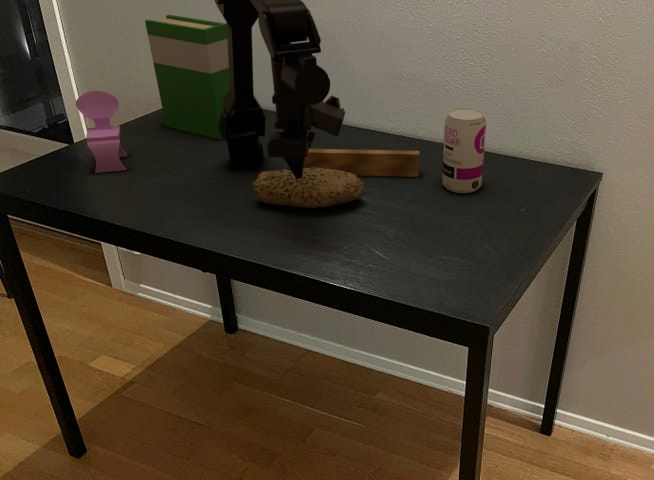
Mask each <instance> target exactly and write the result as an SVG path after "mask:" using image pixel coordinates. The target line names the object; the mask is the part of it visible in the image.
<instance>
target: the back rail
mask: <svg viewBox="0 0 654 480" xmlns="http://www.w3.org/2000/svg"><path fill="white" fill-rule="evenodd" d="M312 167H315V168H326V169H332V170H339V171H344V172H347V173H353V174H355V175H356V176H358V177H400V178H401V177H403V178H404V177H405V178H406V177H407V178H419V177H420V150H399V149H397V150H395V149H394V150H393V149H392V150H391V149H388V150H387V149H346V148H345V149H343V148H342V149H341V148H339V149H335V148H310V149H309V152H308V154H307V157H305V163H304V168H312Z"/></svg>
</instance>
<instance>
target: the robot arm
mask: <svg viewBox="0 0 654 480" xmlns="http://www.w3.org/2000/svg"><path fill="white" fill-rule="evenodd" d="M213 1H214V3H215V5H216V7H217V9H218V11H219V12H220V14H221V16H222V17H223V19H224V20H225V23H226V25H227V43H228V61H229V80H230V90H229V92H228V93H227V95H226V96H225V98H224V99H223V112H221V115H220V121H219V130H220V134H221V136H222V137H223V138H224V139H223V140H224V141H225V142H226V143H227V148H228V149H227V150H228V156H229V164H228V169H238V170H239V169H243V170H258V169H259V168H260V167H261V165H262V163H263V161H264V160H265V154H264V147H263V141H262V140H260V137H265V135H266V117H267V115H266V113H265V112H264V109H263V108H262V106H261V104H260V102H259V101H258V99H257V98H256V96H255V94H254V93H255V92H254V59H253V58H254V55H253V53H254V52H253V27H254V25H255V24H256V22H257V20H258V27H259V31H260V34H261V36H262V40H263V41H264V44H265V46H266V49H267V51H268V53H269V55H270V66H271V76H272V84H273V95H272V96H271V100H272V102H271V103H272V104H273V105H275V115H276V116H275V117H276V119H275V121H274V129H275V130H282V131H275V132H273V134H272V135H271V136H270V138H269V140H268V142H267V144H266V148H267V156H268V157H270V158H283V159H284V161H285V163H286V164H287V166H288V167H289V170H290V171H292V172H293V174H294V176H295V178H297V179H301V178H302V177H303V170H304V163H305V157H307V154H308V152H309V149H311V148H312V144H313V142H314V141H313V140H314V139H315V136H316V132H315V131H312V129H313V128H316V129H317V130H320V131H323V132H326V133H327V134H329V135H331V136H332V137H333V136H334V137H338V136H339V135H340V131H341V128H342V125H343V123H344V120H345V115H346V111H345V108H344V107H341V100H340V98H339V97H337V96H335V95H330V96H329V97H328V95H329V93H330V89H331V79H330V77H329V75H328V73H327V71H326V70H325V69H323V67H321V66H320V65H318V64H317V63H318V61H317V57H316V56H315V55H313V54H320V53H322V48H321V42H322V39H321V36H320V34H319V31H318V28H317V26H316V23H315V20H314V17H313V15H312V13H311V10H310V9H309V8H307V5H306V3H304V2H303V1H302V0H213ZM327 97H328V98H327ZM326 98H327V99H326ZM325 99H326V100H325Z"/></svg>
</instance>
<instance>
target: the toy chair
mask: <svg viewBox="0 0 654 480" xmlns="http://www.w3.org/2000/svg"><path fill="white" fill-rule="evenodd" d="M119 104H120V103H119V100H118V99H117V97H116V96H115V95H113V94H112V93H110V92H107V91H103V90H98V89H96V90H95V89H94V90H89V91H86V92H84V93H83V94H81V95H80V96H78V97H77V99H75V106H76V109H77V110H78V111H79V113H81V114H82V115H83V117H85V118H87V119H90V120H93V122H94V124H95V125H94V126H95V127H87V131H86V136H85V140H86V145H87V147H88V148H89V150H90V151H91V153H92V155H93V157H94V159H95V170H94V173H95V174H97V173H99V174H100V173H109V172H110V173H111V172H120V171H126V170H127V168H126V167H125V165H124V164H123V162H122V160H121V159H120V158H126V157H128V154H127V153H126V152H125V151H124V149H123V148H122V145H121V135H122V130H121V125H111V122H110V119H111V118H113V116H115V114H116V112H117V111H118V109H119V106H120V105H119Z"/></svg>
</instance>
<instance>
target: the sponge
mask: <svg viewBox="0 0 654 480" xmlns="http://www.w3.org/2000/svg"><path fill="white" fill-rule="evenodd" d="M252 185H253V193H254V195H255V197H257V200H258V201H259V202H262V203H265V204H269V205H276V206H289V207H296V208H308V209H317V208H329V207H332V206H337V205H342V204H347V203H351V202H352V201H354V200H357V199H359V198H362V197H363V196H364V195H365V193H366V192H365V188H364V185H365V182H364V181H362V180H361V179H360V177H359V176H356V175H355V174H353V173H347V172H344V171H339V170H332V169H326V168H315V167H312V168H304V170H303V177H302V178H301V179H297V178H295V176H294V174H293V172H292V171H291V169H289V170H288V169H287V168H280V169H278V170H267V171H262V172H260V173H259V174H258V175H257V178H256V181H253V183H252Z"/></svg>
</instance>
